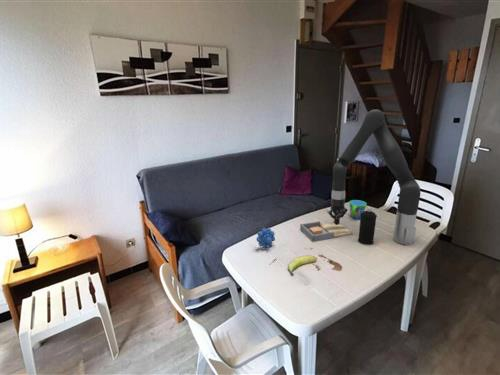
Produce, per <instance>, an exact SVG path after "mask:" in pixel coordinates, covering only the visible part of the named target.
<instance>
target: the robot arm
mask: <svg viewBox="0 0 500 375" xmlns="http://www.w3.org/2000/svg"><path fill="white" fill-rule="evenodd" d="M386 121H387V120H386V119H385V114H384V112H383V111H382V110H380V109H377V108H376V109H371V110H370V111H367V113H366V114H365V117H364V119H363V122H362V124H361V125H360V128H359V130H358V131H357V133H356V134H355V136H354V137H353V139H352V140H351V141H350V142H349V144H348V145H347V146H346V148H345V150H344V151H343V152H342V154H341V156H340V157H339V158H338V159H337V161H336V162H335V163H334V165H333V167H332V168H333V169H332V184H331V185H332V187H331V195H330V196H331V201H330V205H331V206H330V209H329V210H327V211H326V213H327V214H328V215H329V216H330V218H332V219H333V222H334V223H335V224H336V225H339V223H340V221H341V220H340V219H341V218H343V217H344V216H345V215H346V213H347V212H348V210H349V209H347V208H346V207H345V205H346V204H345V203H346V202H345V201H346V179H347V178H346V177H347V169H348V167H349V166H350V165H351V164H352V163H353V162H354V161H355V159H356V158H357V157H358V155H359V154H360V152H361V151H362V149H363V148H364V146H365V145H366V142H367V141H368V139H369V138H370V137H371V136H372V135H373V136H374V137H375V140H376V144H377V147H378V151H379V153H380V155H381V157H382V159H383V161H384V163H385V165H386V167H388V169H389V170H390V171H391V173H392V174H393V175H394V177H395V179H396V181H397V184H398V187H399V195H398V201H397V208H396V215H395V221H394V222H395V224H394V229H393V237H392V240H393V241H394V242H395V241H396V242H395V243H397V242H398V243H397V244H400V243H401V245H403V244H404V245H403V246H406V245H405V244H408V245H411V244H410V243H413V244H414V241H415V237H416V231H417V227H416V226H415V225H416V221H417V216H418V215H417V213H418V209H419V204H420V200H421V187H420V185H419V184H418V182H417V180H416V179H415V177H414V176H413V174H412V173H411V170H410V169H409V166H408V163H407V160H406V156H405V155H404V153H403V151H402V149H401V147H400V145H399V143H398V142H397V140H396V138H395V137H394V136H393V134H392V133H391V131H390V130H389V127H388V125H387V122H386ZM340 224H341V223H340Z"/></svg>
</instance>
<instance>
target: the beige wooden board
mask: <svg viewBox="0 0 500 375" xmlns="http://www.w3.org/2000/svg"><path fill="white" fill-rule="evenodd" d="M320 228H321V229H322V230H323V231H325V232H326V233H329V232H334V238H336V239H337V238H342V237H346V236H347V237H348V236H352V235H353V232H352V231H351V230H350V229H348V228H347V227H345V226H344V225H343V224H341V223H339V225H336V224H335V223H334V221H332V222H326V223H322V224H321V223H320ZM334 238H333V239H334Z"/></svg>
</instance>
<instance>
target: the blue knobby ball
mask: <svg viewBox="0 0 500 375" xmlns="http://www.w3.org/2000/svg"><path fill="white" fill-rule="evenodd" d="M260 230H261V231H258V232H257V237H256V241H257V243H258V246H259V247H263V248H265V249H266V248H268V247H269V246H270V247H271V246H273V242H275V241H276V237H275V233H276V232H275V231H273V230H272V228H271V227H267V228H265V227H263V228H261V229H260Z"/></svg>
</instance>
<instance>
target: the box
mask: <svg viewBox="0 0 500 375" xmlns="http://www.w3.org/2000/svg"><path fill="white" fill-rule="evenodd" d="M320 224H321V221H320V220H319V221H314V222H307V223H301V224H300V227H299V228H300V231H301V232H302V233H303V234H304V235H305V236H306V237H307V238H309V240H311V241H312V243H314V242H315V243H316V242H319V241H323V240H324V241H325V240H329V239H330V240H331V239H334V232H329V233H328V232H325V233H323V234H318V235H313V234H312V233H311V232H310V231H309V228H312V227H320V228H321V226H320Z"/></svg>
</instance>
